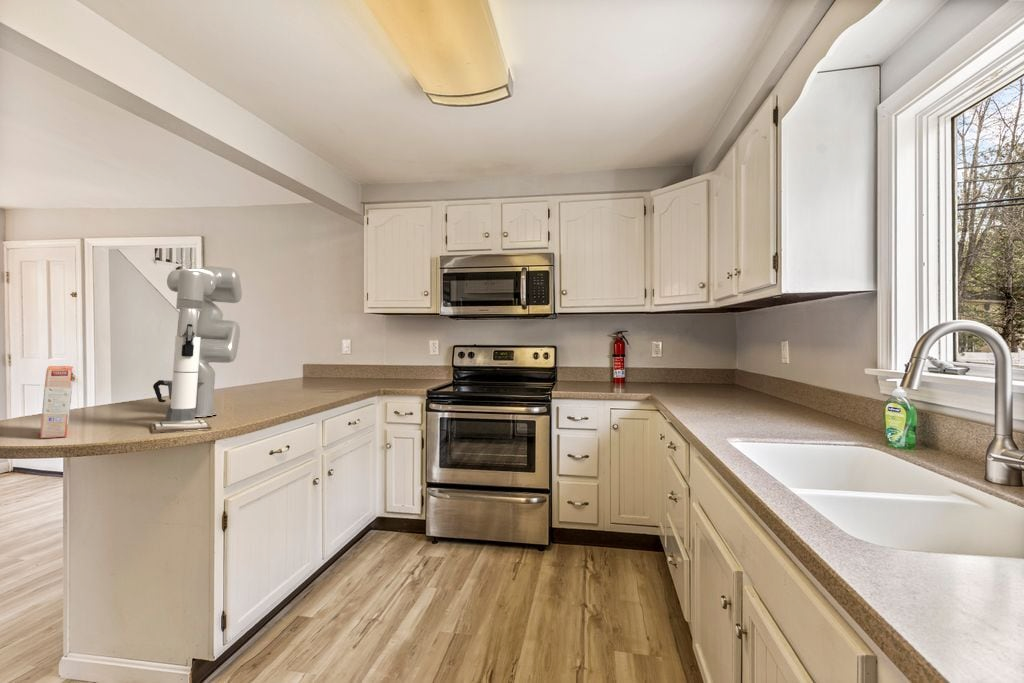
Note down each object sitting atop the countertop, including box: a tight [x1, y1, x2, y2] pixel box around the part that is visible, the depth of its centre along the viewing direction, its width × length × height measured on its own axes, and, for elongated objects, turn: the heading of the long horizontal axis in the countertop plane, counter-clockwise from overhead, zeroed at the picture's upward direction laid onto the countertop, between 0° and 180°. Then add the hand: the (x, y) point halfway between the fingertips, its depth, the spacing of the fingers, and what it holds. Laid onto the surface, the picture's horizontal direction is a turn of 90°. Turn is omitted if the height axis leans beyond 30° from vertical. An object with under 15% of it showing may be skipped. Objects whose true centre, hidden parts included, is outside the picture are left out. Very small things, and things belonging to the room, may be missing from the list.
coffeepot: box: [152, 379, 204, 421], centre depth 169 cm, size 15×9×18 cm, turn 129°
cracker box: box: [39, 365, 74, 439], centre depth 138 cm, size 14×6×21 cm, turn 44°
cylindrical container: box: [170, 335, 201, 409], centre depth 157 cm, size 7×7×25 cm
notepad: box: [150, 419, 212, 434], centre depth 157 cm, size 14×16×2 cm
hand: (186, 355), depth 157 cm, fingers closed on cylindrical container, 7 cm apart
